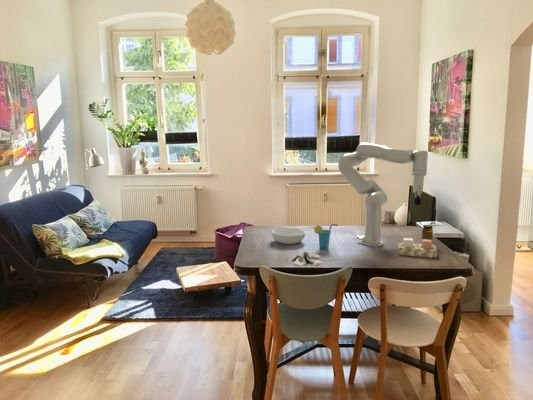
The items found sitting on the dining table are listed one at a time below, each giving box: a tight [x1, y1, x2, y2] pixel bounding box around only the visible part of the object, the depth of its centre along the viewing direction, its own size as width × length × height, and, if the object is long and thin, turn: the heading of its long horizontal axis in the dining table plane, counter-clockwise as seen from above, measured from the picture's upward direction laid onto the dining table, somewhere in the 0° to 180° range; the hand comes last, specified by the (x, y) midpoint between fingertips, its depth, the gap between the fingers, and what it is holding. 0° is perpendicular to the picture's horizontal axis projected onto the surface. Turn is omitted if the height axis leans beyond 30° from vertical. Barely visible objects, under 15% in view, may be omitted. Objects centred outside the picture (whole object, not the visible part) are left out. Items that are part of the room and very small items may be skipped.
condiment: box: [418, 224, 434, 245], centre depth 254 cm, size 7×8×12 cm
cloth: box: [287, 250, 323, 267], centre depth 226 cm, size 22×19×6 cm
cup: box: [313, 223, 339, 251], centre depth 246 cm, size 14×8×15 cm, turn 97°
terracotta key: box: [421, 239, 433, 249], centre depth 237 cm, size 5×5×6 cm
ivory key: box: [402, 237, 414, 247], centre depth 240 cm, size 5×5×6 cm
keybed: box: [397, 241, 438, 259], centre depth 239 cm, size 20×12×4 cm, turn 74°
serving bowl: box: [271, 227, 306, 245], centre depth 261 cm, size 21×21×7 cm
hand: (417, 204), depth 239 cm, fingers closed
